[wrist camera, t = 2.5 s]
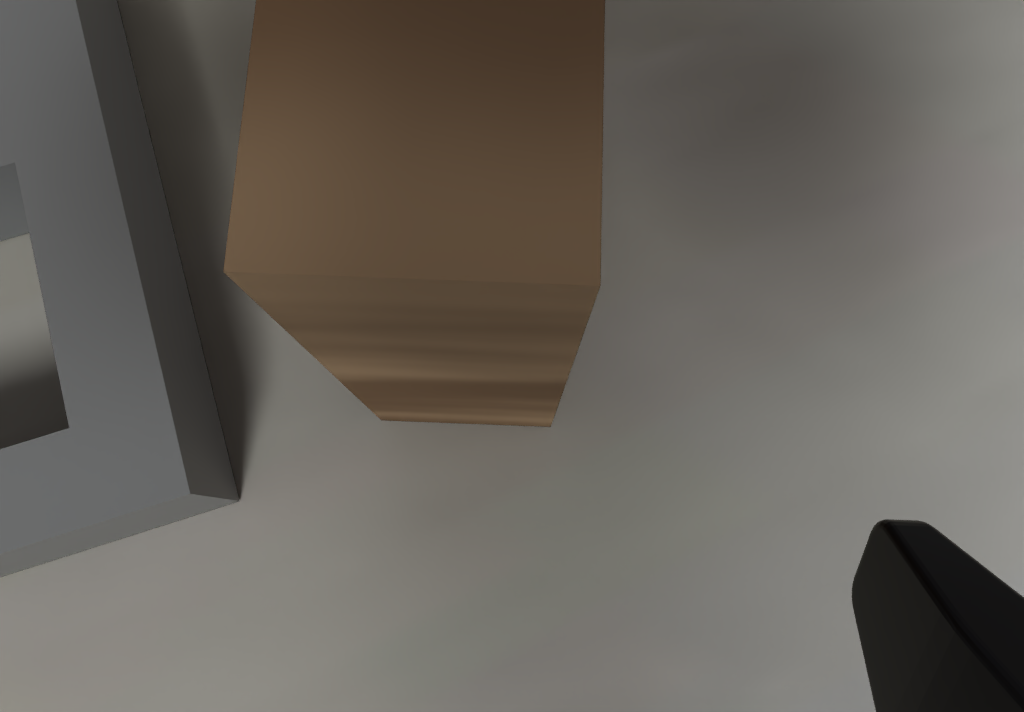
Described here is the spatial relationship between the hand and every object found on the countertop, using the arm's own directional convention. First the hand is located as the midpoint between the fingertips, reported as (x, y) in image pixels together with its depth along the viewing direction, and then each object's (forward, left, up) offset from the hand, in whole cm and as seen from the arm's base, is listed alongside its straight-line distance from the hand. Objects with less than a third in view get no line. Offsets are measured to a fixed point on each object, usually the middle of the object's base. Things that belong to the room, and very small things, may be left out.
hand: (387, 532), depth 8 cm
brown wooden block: (+2, +4, -11) cm, 12 cm away
